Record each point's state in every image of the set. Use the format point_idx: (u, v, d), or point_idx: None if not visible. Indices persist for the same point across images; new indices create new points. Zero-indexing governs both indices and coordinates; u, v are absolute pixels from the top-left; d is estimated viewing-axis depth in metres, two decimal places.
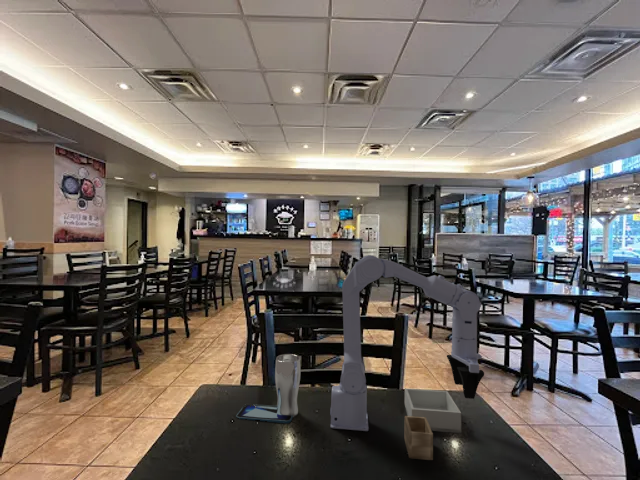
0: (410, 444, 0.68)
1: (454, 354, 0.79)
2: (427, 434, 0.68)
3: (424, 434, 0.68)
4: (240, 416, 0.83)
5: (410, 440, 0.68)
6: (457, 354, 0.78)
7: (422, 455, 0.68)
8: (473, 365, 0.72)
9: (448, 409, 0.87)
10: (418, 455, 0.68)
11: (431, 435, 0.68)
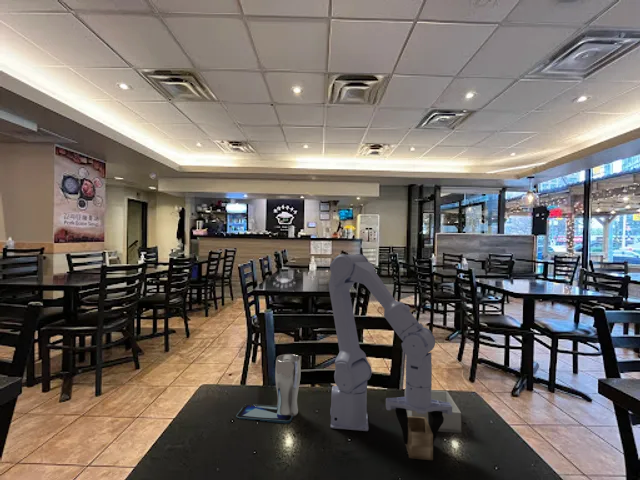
0: (410, 444, 0.68)
1: None
2: (427, 434, 0.68)
3: (424, 434, 0.68)
4: (240, 416, 0.83)
5: (410, 440, 0.68)
6: None
7: (422, 455, 0.68)
8: None
9: None
10: (418, 455, 0.68)
11: (431, 435, 0.68)
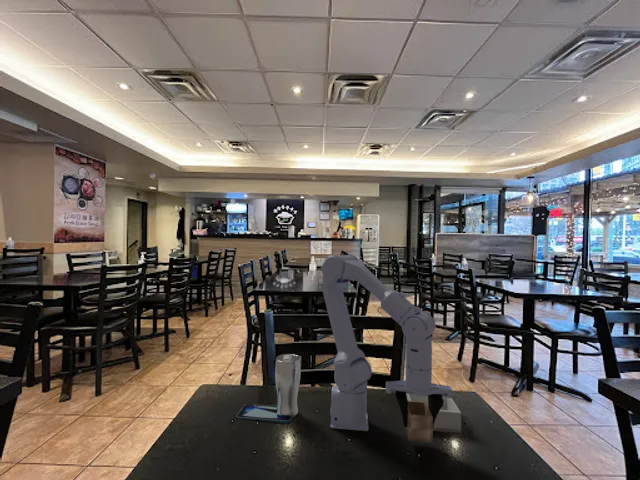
0: (410, 427, 0.69)
1: None
2: (427, 417, 0.68)
3: (424, 417, 0.68)
4: (240, 416, 0.83)
5: (410, 423, 0.69)
6: None
7: (421, 438, 0.68)
8: (386, 383, 0.73)
9: (448, 409, 0.87)
10: (418, 438, 0.68)
11: (431, 418, 0.68)
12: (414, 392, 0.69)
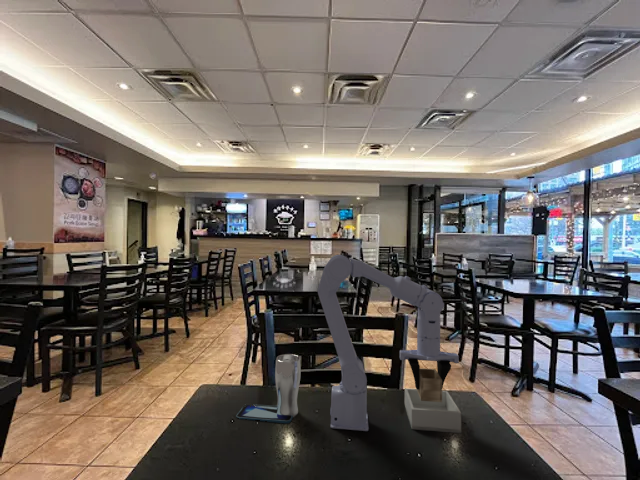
0: (422, 388, 0.78)
1: None
2: (437, 380, 0.78)
3: (434, 380, 0.78)
4: (240, 416, 0.83)
5: (422, 385, 0.78)
6: None
7: (432, 398, 0.78)
8: None
9: (448, 409, 0.87)
10: (429, 398, 0.78)
11: (440, 380, 0.78)
12: (425, 358, 0.79)
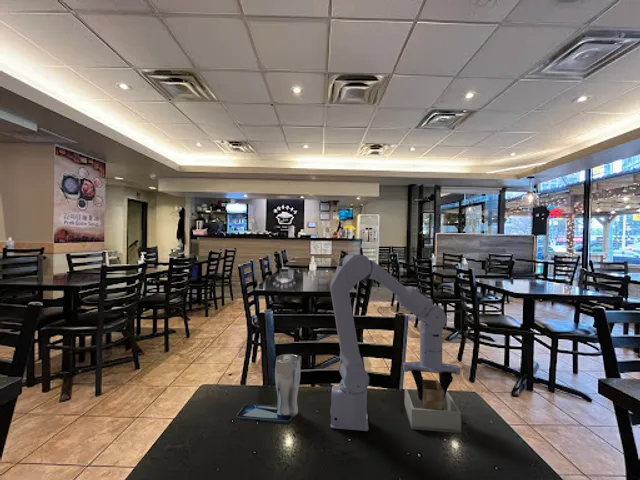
0: (425, 399, 0.81)
1: None
2: (439, 391, 0.81)
3: (437, 391, 0.81)
4: (240, 416, 0.83)
5: (425, 396, 0.81)
6: None
7: (435, 408, 0.81)
8: (403, 363, 0.86)
9: (448, 409, 0.87)
10: (432, 408, 0.81)
11: (443, 392, 0.81)
12: (428, 370, 0.83)
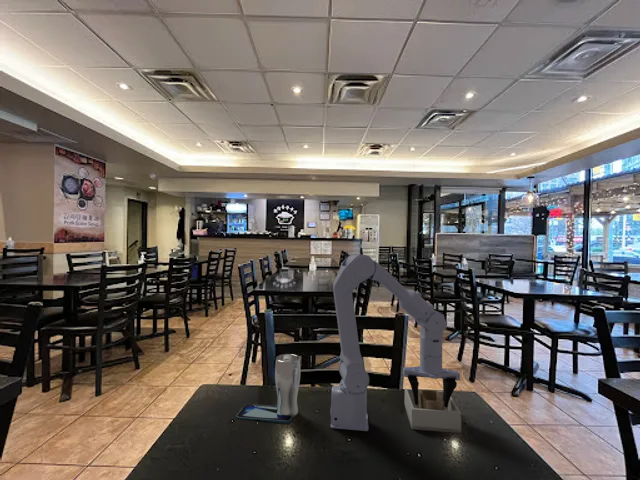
0: None
1: None
2: (439, 402, 0.81)
3: (436, 402, 0.81)
4: (240, 416, 0.83)
5: (425, 407, 0.81)
6: None
7: None
8: (403, 369, 0.86)
9: (448, 409, 0.87)
10: None
11: (442, 403, 0.81)
12: (428, 375, 0.82)
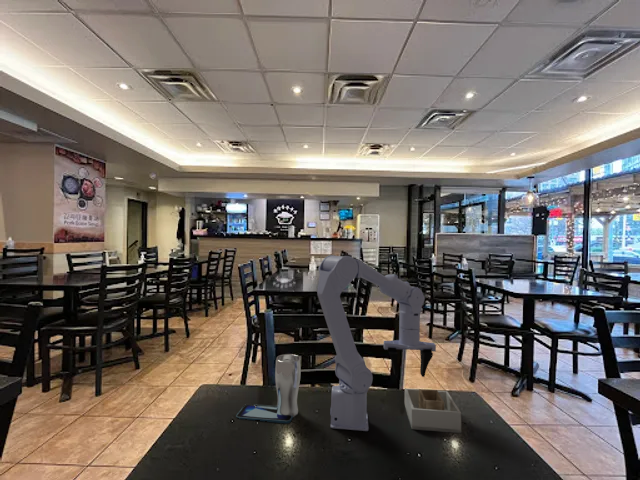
0: None
1: None
2: (439, 402, 0.81)
3: (436, 402, 0.81)
4: (240, 416, 0.83)
5: (425, 407, 0.81)
6: None
7: None
8: None
9: (448, 409, 0.87)
10: None
11: (442, 403, 0.81)
12: (406, 347, 0.88)
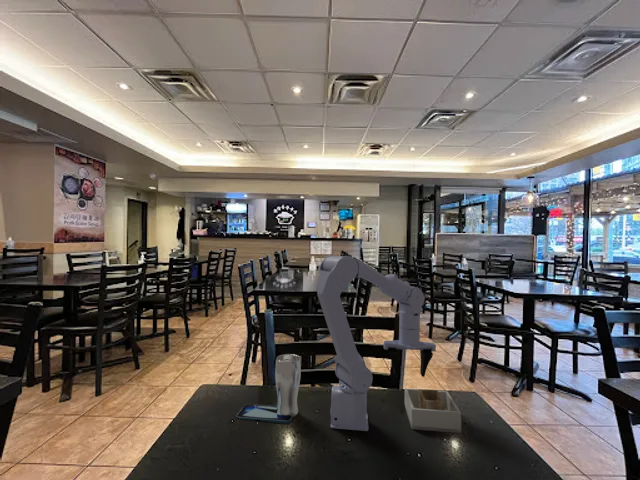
0: None
1: None
2: (439, 402, 0.81)
3: (436, 402, 0.81)
4: (240, 416, 0.83)
5: (425, 407, 0.81)
6: None
7: None
8: None
9: (448, 409, 0.87)
10: None
11: (442, 403, 0.81)
12: (406, 347, 0.88)
